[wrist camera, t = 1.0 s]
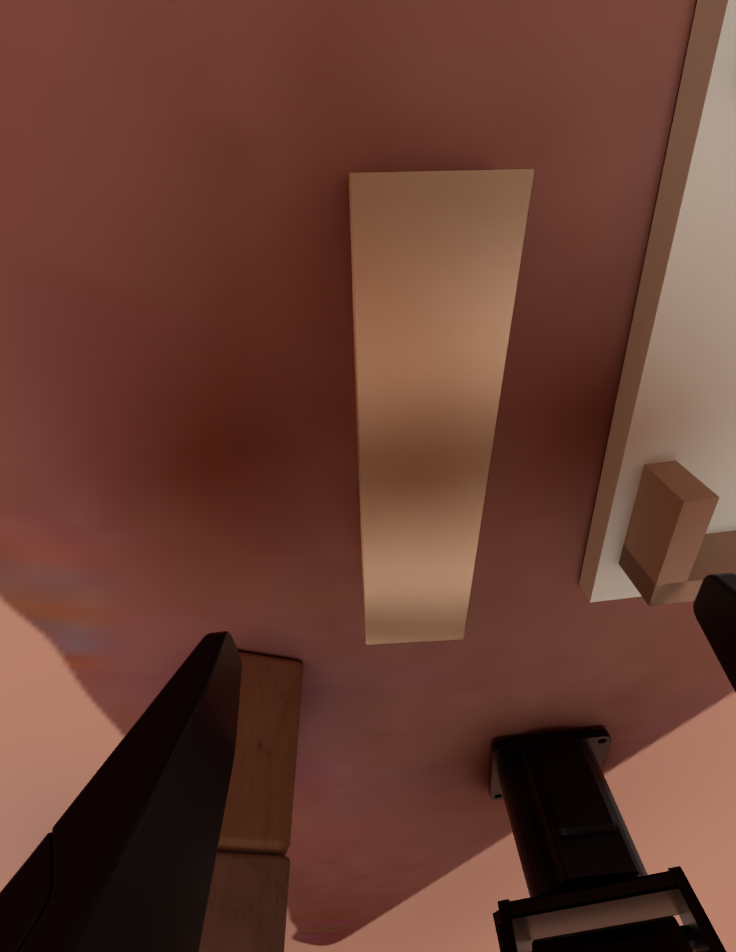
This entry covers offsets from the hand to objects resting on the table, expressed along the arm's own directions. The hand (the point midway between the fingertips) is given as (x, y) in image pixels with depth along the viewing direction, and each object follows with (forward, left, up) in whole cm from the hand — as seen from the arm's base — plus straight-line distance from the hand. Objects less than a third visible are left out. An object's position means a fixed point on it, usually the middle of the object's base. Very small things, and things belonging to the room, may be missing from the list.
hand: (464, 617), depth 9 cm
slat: (0, 0, -8) cm, 8 cm away
